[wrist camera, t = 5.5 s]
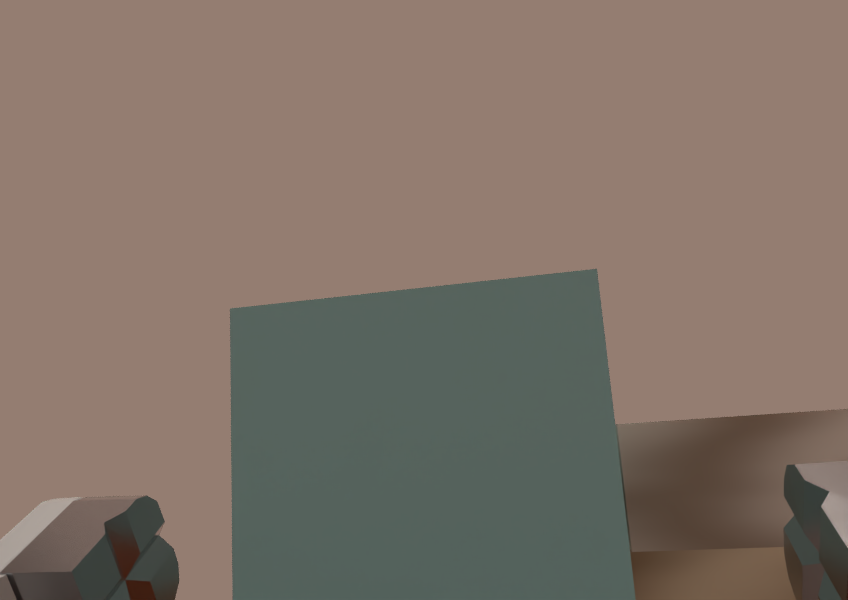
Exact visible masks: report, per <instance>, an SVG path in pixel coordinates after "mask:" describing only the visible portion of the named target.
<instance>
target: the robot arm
mask: <svg viewBox="0 0 848 600" xmlns="http://www.w3.org/2000/svg"><path fill="white" fill-rule="evenodd" d="M784 497H785V499H786V501H787V503H788V505H789V506H790V508H791V510H792V512H793V514H794V516H793V517H792V518H791V520H790V521H789V522H788V523H787V524H786V525H785V527H784V528H783V532H784V555H785V561H786V567H787V573H788V578H789V581H790V584H791V587H792V590H793V593H794V596H795V598H796V600H848V461H833V462H819V463H805V464H790V465H787V466H786V471H785V475H784ZM164 522H165V521H164V519H163V516H162V513H161V510H160V508H159V505H158V503H157V501H156V500H154V499H152V498H150V497H148V496H113V497H85V498H81V497H74V498H60V499H52V500H48V501H44V502H42V503H41V504H39V505H38V506H37V507H36V508H35V509H34V510H33V511H32V512H31V513H29V514H28V515H27V516H26V517H25V518H24V519H23V520H22V521H21V522H19V523H18V524H17V525H16V526H15V527H14V528H13V529H12V530H11V531H10V532H8V533H7V534H6V535H5V536H4V537H3V538H2V539H1V540H0V600H175V596H176V592H177V588H178V584H179V569H178V561H177V558H176V555H175V552H174V549H173V548H172V547H171V546H170V545H169V544H168V543H167V542H166V541H165V540H164V539H163V538H161V537H160V536H159V534H160V532H161V529H162V527H163V524H164Z"/></svg>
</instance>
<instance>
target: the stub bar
mask: <svg viewBox="0 0 848 600" xmlns="http://www.w3.org/2000/svg"><path fill="white" fill-rule="evenodd" d="M230 336H231V337H230V340H231V342H230V343H231V344H230V347H231V452H232V453H231V457H232V458H231V461H232V565H233V566H232V569H233V571H232V572H233V600H636V598H635V589H634V581H633V572H632V564H631V555H630V547H629V538H628V530H627V521H626V513H625V504H624V496H623V487H622V479H621V470H620V462H619V453H618V445H617V436H616V428H615V419H614V412H613V402H612V394H611V386H610V376H609V368H608V359H607V351H606V342H605V334H604V326H603V317H602V309H601V300H600V292H599V283H598V274H597V269H592V270H583V271H573V272H564V273H554V274H545V275H536V276H527V277H518V278H509V279H500V280H490V281H481V282H472V283H462V284H454V285H444V286H435V287H426V288H416V289H407V290H398V291H389V292H380V293H372V294H371V293H370V294H361V295H352V296H342V297H334V298H324V299H315V300H306V301H297V302H287V303H279V304H269V305H260V306H251V307H241V308H232V309H230Z"/></svg>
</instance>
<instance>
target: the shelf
mask: <svg viewBox="0 0 848 600" xmlns="http://www.w3.org/2000/svg"><path fill="white" fill-rule="evenodd" d="M615 428H616V436H617V445H618V453H619V462H620V470H621V479H622V487H623V496H624V504H625V513H626V521H627V530H628V538H629V547H630V555H631V564H632V572H633V581H634V589H635V598H636V600H796V598H795V596H794V593H793V590H792V587H791V584H790V581H789V578H788V573H787V567H786V561H785V555H784V532H783V528H784V527H785V525H786V524H787V523H788V522H789V521H790V520H791V518H792V517H793V516H794V514H793V512H792V510H791V508H790V506H789V505H788V503H787V501H786V499H785V497H784V475H785V471H786V466H787V465H790V464H805V463H819V462H833V461H848V409H840V410H826V411H810V412H797V413H781V414H767V415H766V414H765V415H751V416H737V417H721V418H705V419H691V420H675V421H660V422H646V423H631V424H616V425H615Z"/></svg>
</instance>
